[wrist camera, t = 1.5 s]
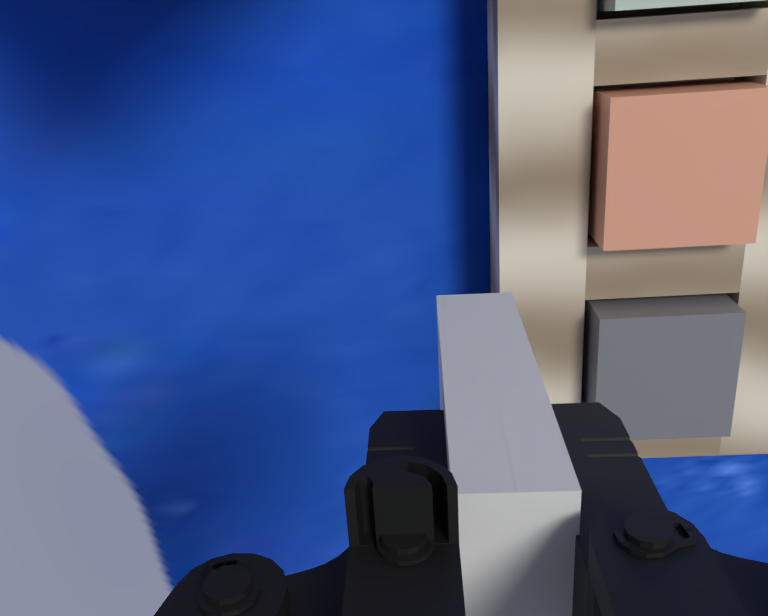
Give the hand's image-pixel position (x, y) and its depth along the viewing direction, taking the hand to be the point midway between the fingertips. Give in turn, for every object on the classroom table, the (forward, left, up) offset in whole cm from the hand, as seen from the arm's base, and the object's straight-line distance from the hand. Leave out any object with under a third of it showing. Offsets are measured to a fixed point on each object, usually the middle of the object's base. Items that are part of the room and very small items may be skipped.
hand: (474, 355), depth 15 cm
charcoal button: (+9, +9, -18) cm, 22 cm away
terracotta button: (0, +9, -18) cm, 20 cm away
